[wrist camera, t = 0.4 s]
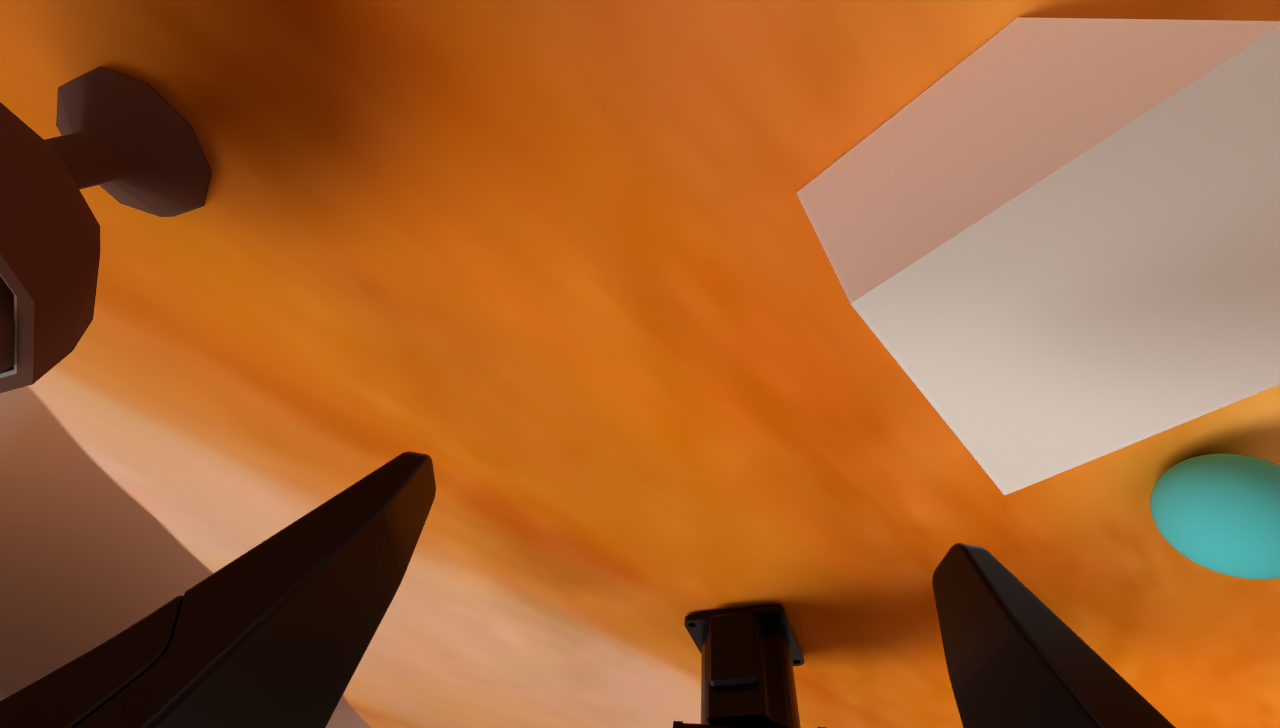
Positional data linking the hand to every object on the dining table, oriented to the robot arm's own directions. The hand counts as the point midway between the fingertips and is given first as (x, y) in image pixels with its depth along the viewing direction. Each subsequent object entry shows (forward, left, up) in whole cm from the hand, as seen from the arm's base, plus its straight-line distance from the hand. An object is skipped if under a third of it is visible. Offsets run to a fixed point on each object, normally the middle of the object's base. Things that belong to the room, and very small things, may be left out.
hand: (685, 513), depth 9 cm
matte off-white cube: (-2, -9, -14) cm, 16 cm away
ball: (-18, -18, -11) cm, 27 cm away
